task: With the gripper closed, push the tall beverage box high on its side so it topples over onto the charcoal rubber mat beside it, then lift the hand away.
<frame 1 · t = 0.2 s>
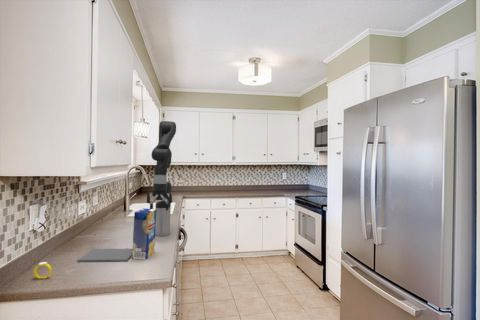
hand: (159, 210, 164), 18 cm above the counter, tool pointing down, fingers open, 8 cm apart
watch: (42, 278, 110), on the counter
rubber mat: (109, 255, 136), on the counter
beverage box: (143, 255, 138), on the counter
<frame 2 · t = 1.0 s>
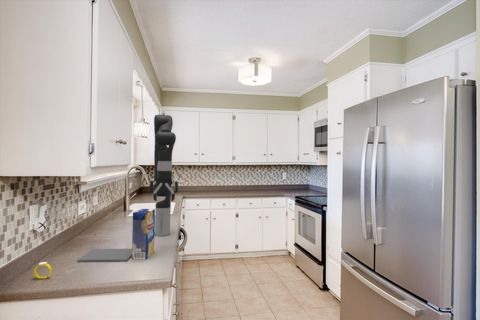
hand: (164, 200, 147), 26 cm above the counter, tool pointing down, fingers open, 8 cm apart
nothing on the counter moved.
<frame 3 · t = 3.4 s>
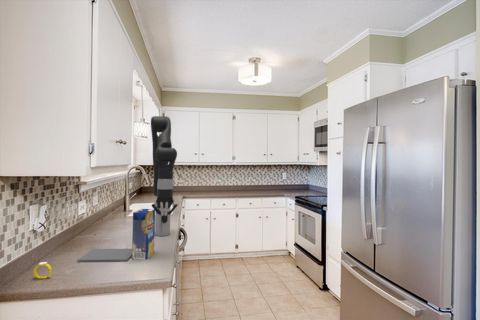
hand: (164, 222, 138), 16 cm above the counter, tool pointing down, fingers closed
nothing on the counter moved.
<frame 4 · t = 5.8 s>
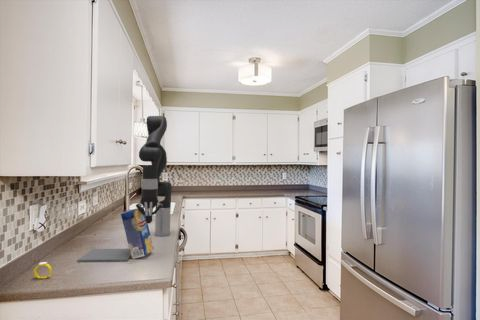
hand: (148, 223, 138), 16 cm above the counter, tool pointing down, fingers closed
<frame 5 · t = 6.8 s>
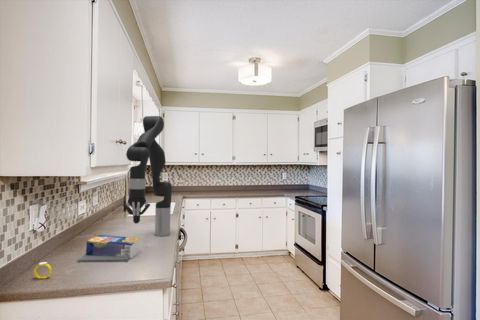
hand: (136, 223, 137), 16 cm above the counter, tool pointing down, fingers closed
beverage box: (136, 248, 138), point 3 cm above the counter, touching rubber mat
everything else where it was.
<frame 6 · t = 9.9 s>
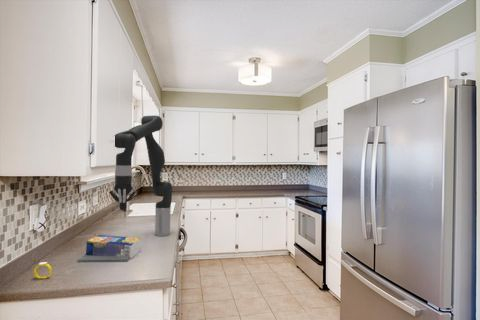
hand: (122, 210, 137), 22 cm above the counter, tool pointing down, fingers closed
nothing on the counter moved.
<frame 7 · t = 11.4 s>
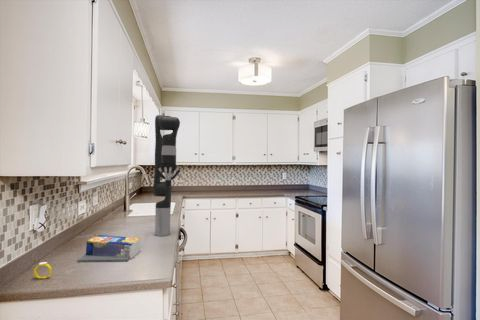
hand: (168, 187, 148), 33 cm above the counter, tool pointing down, fingers closed
nothing on the counter moved.
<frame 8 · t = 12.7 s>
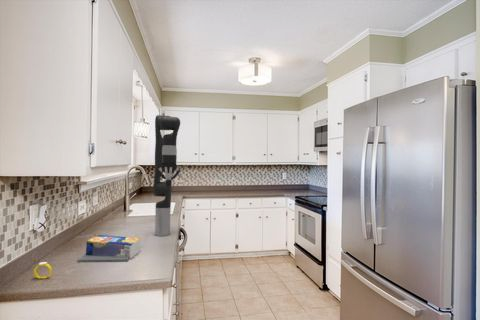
hand: (168, 186, 149), 33 cm above the counter, tool pointing down, fingers closed
nothing on the counter moved.
at the end: beverage box tilted 87°; beverage box inside the target area (2.2 cm from its centre), point 3.4 cm above the counter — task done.
